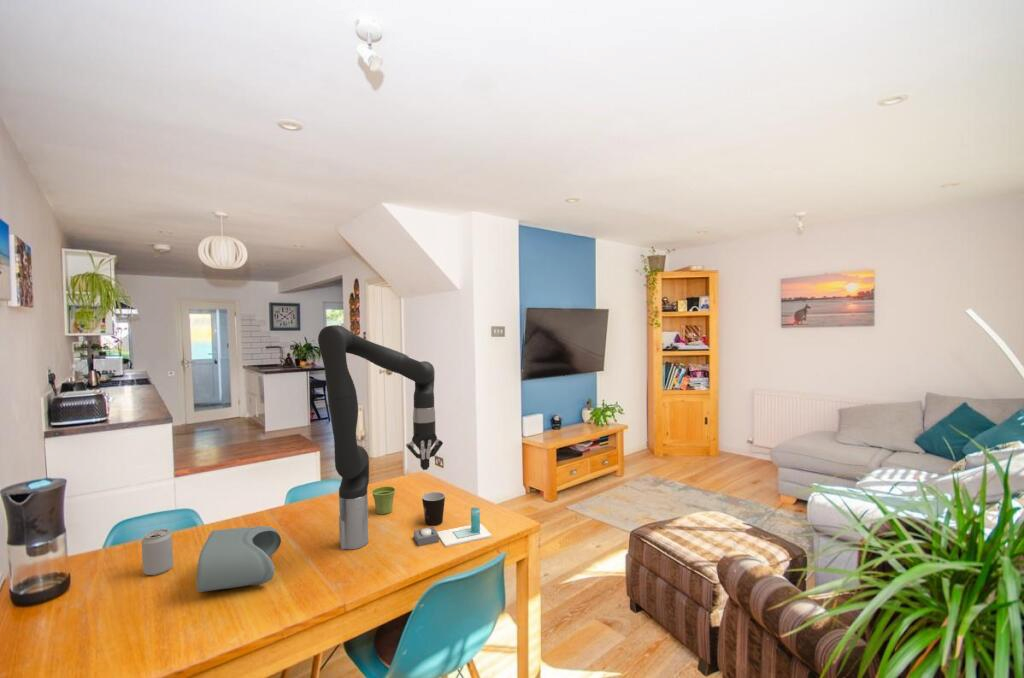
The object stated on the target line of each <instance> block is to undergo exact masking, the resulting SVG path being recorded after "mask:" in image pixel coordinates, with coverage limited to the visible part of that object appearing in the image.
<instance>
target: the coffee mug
mask: <svg viewBox="0 0 1024 678" xmlns="http://www.w3.org/2000/svg"><path fill="white" fill-rule="evenodd" d="M421 500H422V501H421V502H422V507H423V514H424V521H425V525H426V526H429V527H434V526H435V527H436V526H440V525H442V524H443V520H444V513H445V511H444V510H445V502H446V494H445V493H443V492H440V491H439V492H438V491H433V492H431V491H430V492H427V493H425V494H423V495H422V496H421Z"/></svg>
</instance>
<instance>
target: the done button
mask: <svg viewBox="0 0 1024 678" xmlns="http://www.w3.org/2000/svg"><path fill="white" fill-rule="evenodd" d="M429 528H430V527H425V528H421V529H422V530H421V537H422V536H427V535H431V529H429Z"/></svg>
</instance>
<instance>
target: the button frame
mask: <svg viewBox="0 0 1024 678" xmlns="http://www.w3.org/2000/svg"><path fill="white" fill-rule="evenodd" d="M428 528H429V529H431V535H427V536H422V537H421V530H422V529H423V528H421V529H417V530H416V529H415V530H413V539H414V540H415V542H416V544H417V546H418V547H421V546H426V545H427V546H428V545H431V544H435V543H436V544H437V543H439V542H440V538H439V535H438V533H437V532H438V531H437V530H436V529H435V527H434V526H429V527H428Z"/></svg>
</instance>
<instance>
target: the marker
mask: <svg viewBox="0 0 1024 678" xmlns="http://www.w3.org/2000/svg"><path fill="white" fill-rule="evenodd" d="M480 523H481V508H480V507H471V508H470V525H471V532H472V533H479V532H480Z"/></svg>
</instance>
